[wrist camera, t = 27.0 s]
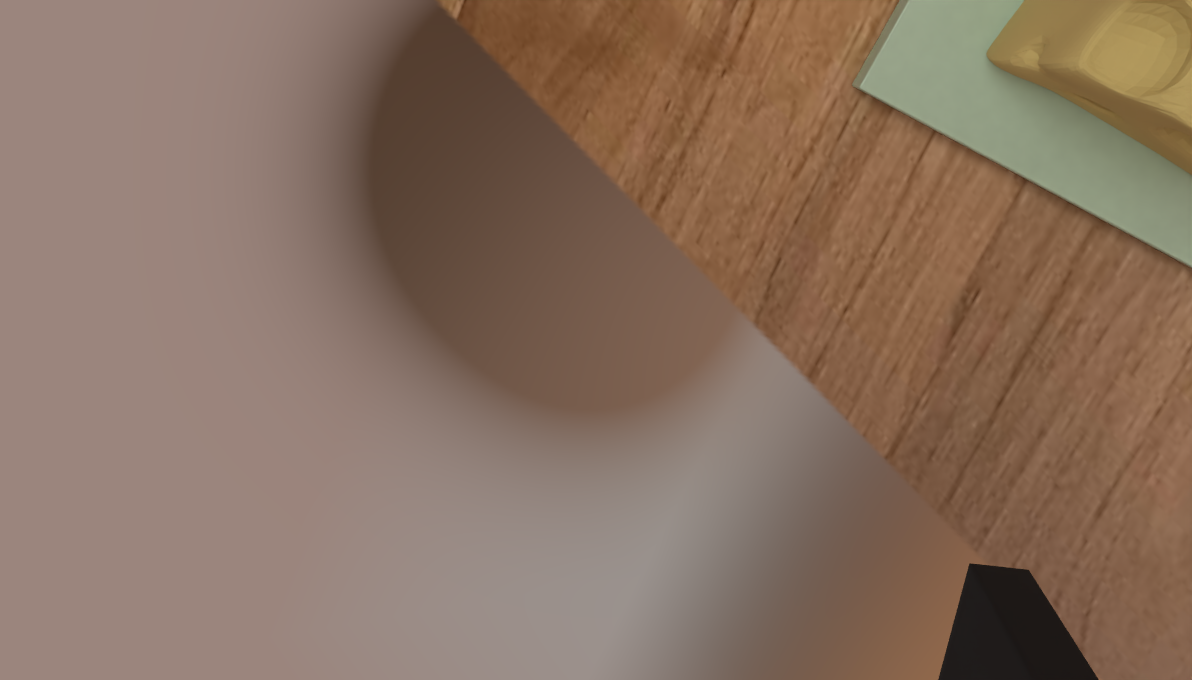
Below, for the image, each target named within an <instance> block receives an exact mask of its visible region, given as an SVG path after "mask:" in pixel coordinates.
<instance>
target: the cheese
mask: <svg viewBox="0 0 1192 680" xmlns="http://www.w3.org/2000/svg"><path fill="white" fill-rule="evenodd" d="M986 54H987V57H988V59H989V60H990V61H991V62H992V63H993V64H994V65H996V66H997V67H999V68H1000V69H1002V70H1004V71H1006V72H1008V73H1010V74H1012V75H1015V76H1017V77H1019V78H1022V79H1024V80H1027V81H1030V82H1033V83H1035V84H1038V85H1040V86H1043V87H1045V88H1047V89H1049V90H1051V91H1053V92H1055V93H1056V94H1058V95H1060V96H1062V97H1064V98H1066V99H1067V100H1069V101H1071V102H1073V103H1074V104H1076V105H1078V106H1079V107H1081V108H1083V109H1084V110H1086V111H1087V112H1089V113H1091V114H1092V115H1094V116H1096V117H1097V118H1099V119H1101V120H1103V121H1104V122H1106V123H1108V124H1109V125H1111V126H1113V127H1114V128H1116V129H1118V130H1119V131H1121V132H1123V133H1124V134H1126V135H1128V136H1129V137H1131V138H1133V139H1135V140H1136V141H1138V142H1140V143H1141V144H1143V145H1145V146H1146V147H1148V148H1150V149H1151V150H1153V151H1154V152H1156V153H1158V154H1159V155H1161V156H1162V157H1164V158H1166V159H1167V160H1169V161H1170V162H1172V163H1174V164H1175V165H1177V166H1178V167H1180V168H1182V169H1183V170H1185V171H1186V172H1188V173H1189V174H1191V175H1192V0H1024V1H1023V3H1022V4H1021V6H1020V7H1019V8H1018V10H1017V11H1016V12H1015V14H1014V15H1013V16H1012V17H1011V19H1010V20H1009V21H1008V23H1007V24H1006V25H1005V27H1004V28H1003V29H1002V31H1001V32H1000V34H999V35H998V36H997V38H996V39H995V40H994V42H993V43H992V44H991V46H990V47H989V49H988V51H987V53H986Z"/></svg>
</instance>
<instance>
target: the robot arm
mask: <svg viewBox="0 0 1192 680" xmlns="http://www.w3.org/2000/svg"><path fill="white" fill-rule="evenodd" d="M938 680H1098V678H1097V676H1096V675H1095V673H1094V672H1093V670H1092V669H1091V667H1090V665H1089V664H1088V662H1087V661H1086V659H1085V658H1084V656H1083V654H1082V653H1081V651H1080V650H1079V648H1078V647H1077V645H1076V643H1075V642H1074V640H1073V639H1072V637H1071V636H1070V634H1069V632H1068V631H1067V629H1066V628H1065V626H1064V625H1063V623H1062V621H1061V620H1060V618H1059V617H1058V615H1057V614H1056V612H1055V610H1054V609H1053V607H1052V606H1051V604H1050V603H1049V601H1048V600H1047V598H1046V596H1045V595H1044V593H1043V592H1042V590H1041V589H1040V587H1039V585H1038V584H1037V582H1036V581H1035V579H1034V578H1033V576H1032V574H1031V573H1030V571H1029V570H1025V569H1016V568H1007V567H998V566H989V565H980V564H969V567H968V571H967V575H966V579H965V583H964V586H963V590H962V594H961V597H960V601H959V605H958V609H957V613H956V616H955V620H954V624H953V627H952V631H951V635H950V638H949V642H948V646H947V650H946V654H945V657H944V661H943V664H942V668H941V672H940V676H939V679H938Z"/></svg>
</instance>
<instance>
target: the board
mask: <svg viewBox="0 0 1192 680" xmlns="http://www.w3.org/2000/svg"><path fill="white" fill-rule="evenodd" d="M1023 1H1024V0H900V1H899V3H898V4H897V6H896V8H895V10H894V11H893V13H892V15H891V17H890V18H889V20H888V22H887V24H886V26H885V27H884V29H883V31H882V33H881V34H880V36H879V38H878V40H877V41H876V43H875V45H874V47H873V48H872V50H871V52H870V54H869V55H868V57H867V59H866V61H865V63H864V64H863V66H862V68H861V70H860V71H859V73H858V75H857V77H856V78H855V80H854V82H853V84H852V86H853V87H855V88H857V89H859V90H861V91H862V92H864V93H866V94H868V95H870V96H872V97H874V98H876V99H877V100H879V101H881V102H883V103H885V104H887V105H889V106H890V107H892V108H894V109H896V110H898V111H900V112H902V113H903V114H905V115H907V116H909V117H911V118H913V119H915V120H917V121H918V122H920V123H922V124H924V125H926V126H928V127H930V128H931V129H933V130H935V131H937V132H939V133H941V134H943V135H944V136H946V137H948V138H950V139H952V140H954V141H956V142H958V143H959V144H961V145H963V146H965V147H967V148H969V149H971V150H972V151H974V152H976V153H978V154H980V155H982V156H984V157H986V158H987V159H989V160H991V161H993V162H995V163H997V164H999V165H1000V166H1002V167H1004V168H1006V169H1008V170H1010V171H1012V172H1013V173H1015V174H1017V175H1019V176H1021V177H1023V178H1025V179H1027V180H1028V181H1030V182H1032V183H1034V184H1036V185H1038V186H1040V187H1041V188H1043V189H1045V190H1047V191H1049V192H1051V193H1053V194H1054V195H1056V196H1058V197H1060V198H1062V199H1064V200H1066V201H1068V202H1069V203H1071V204H1073V205H1075V206H1077V207H1079V208H1081V209H1082V210H1084V211H1086V212H1088V213H1090V214H1092V215H1094V216H1095V217H1097V218H1099V219H1101V220H1103V221H1105V222H1107V223H1109V224H1110V225H1112V226H1114V227H1116V228H1118V229H1120V230H1122V231H1123V232H1125V233H1127V234H1129V235H1131V236H1133V237H1135V238H1137V239H1138V240H1140V241H1142V242H1144V243H1146V244H1148V245H1150V246H1151V247H1153V248H1155V249H1157V250H1159V251H1161V252H1163V253H1164V254H1166V255H1168V256H1170V257H1172V258H1174V259H1176V260H1178V261H1179V262H1181V263H1183V264H1185V265H1187V266H1189V267H1191V268H1192V175H1191V174H1189V173H1188V172H1186V171H1185V170H1183V169H1182V168H1180V167H1178V166H1177V165H1175V164H1174V163H1172V162H1170V161H1169V160H1167V159H1166V158H1164V157H1162V156H1161V155H1159V154H1158V153H1156V152H1154V151H1153V150H1151V149H1150V148H1148V147H1146V146H1145V145H1143V144H1141V143H1140V142H1138V141H1136V140H1135V139H1133V138H1131V137H1129V136H1128V135H1126V134H1124V133H1123V132H1121V131H1119V130H1118V129H1116V128H1114V127H1113V126H1111V125H1109V124H1108V123H1106V122H1104V121H1103V120H1101V119H1099V118H1097V117H1096V116H1094V115H1092V114H1091V113H1089V112H1087V111H1086V110H1084V109H1083V108H1081V107H1079V106H1078V105H1076V104H1074V103H1073V102H1071V101H1069V100H1067V99H1066V98H1064V97H1062V96H1060V95H1058V94H1056V93H1055V92H1053V91H1051V90H1049V89H1047V88H1045V87H1043V86H1040V85H1038V84H1035V83H1033V82H1030V81H1027V80H1024V79H1022V78H1019V77H1017V76H1015V75H1012V74H1010V73H1008V72H1006V71H1004V70H1002V69H1000V68H999V67H997V66H996V65H994V64H993V63H992V62H991V61H990V60H989V59H988V57H987V54H986V53H987V51H988V49H989V47H990V46H991V44H992V43H993V42H994V40H995V39H996V38H997V36H998V35H999V34H1000V32H1001V31H1002V29H1003V28H1004V27H1005V25H1006V24H1007V23H1008V21H1009V20H1010V19H1011V17H1012V16H1013V15H1014V14H1015V12H1016V11H1017V10H1018V8H1019V7H1020V6H1021V4H1022V3H1023Z"/></svg>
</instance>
